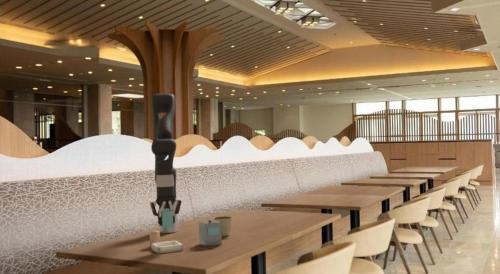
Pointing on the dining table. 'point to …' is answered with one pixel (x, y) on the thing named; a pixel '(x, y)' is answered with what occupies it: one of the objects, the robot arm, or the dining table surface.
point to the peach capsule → (154, 236)
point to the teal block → (167, 218)
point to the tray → (167, 246)
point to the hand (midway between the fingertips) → (166, 224)
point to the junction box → (210, 233)
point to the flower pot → (224, 224)
